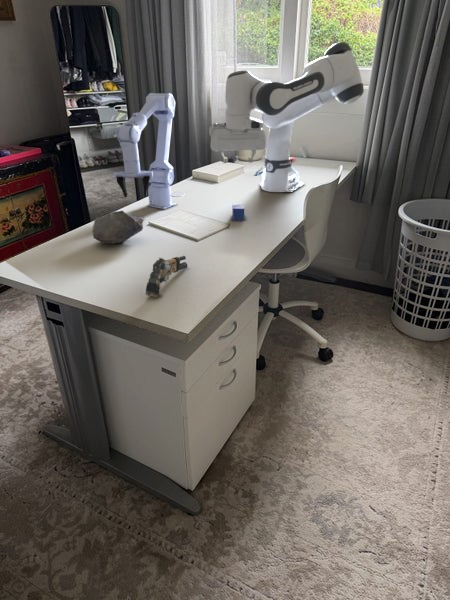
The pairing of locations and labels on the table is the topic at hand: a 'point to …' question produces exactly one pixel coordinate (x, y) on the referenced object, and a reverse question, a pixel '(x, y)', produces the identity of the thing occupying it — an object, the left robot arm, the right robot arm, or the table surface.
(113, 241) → the stone
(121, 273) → the table surface
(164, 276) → the toy gun
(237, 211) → the block
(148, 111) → the left robot arm
